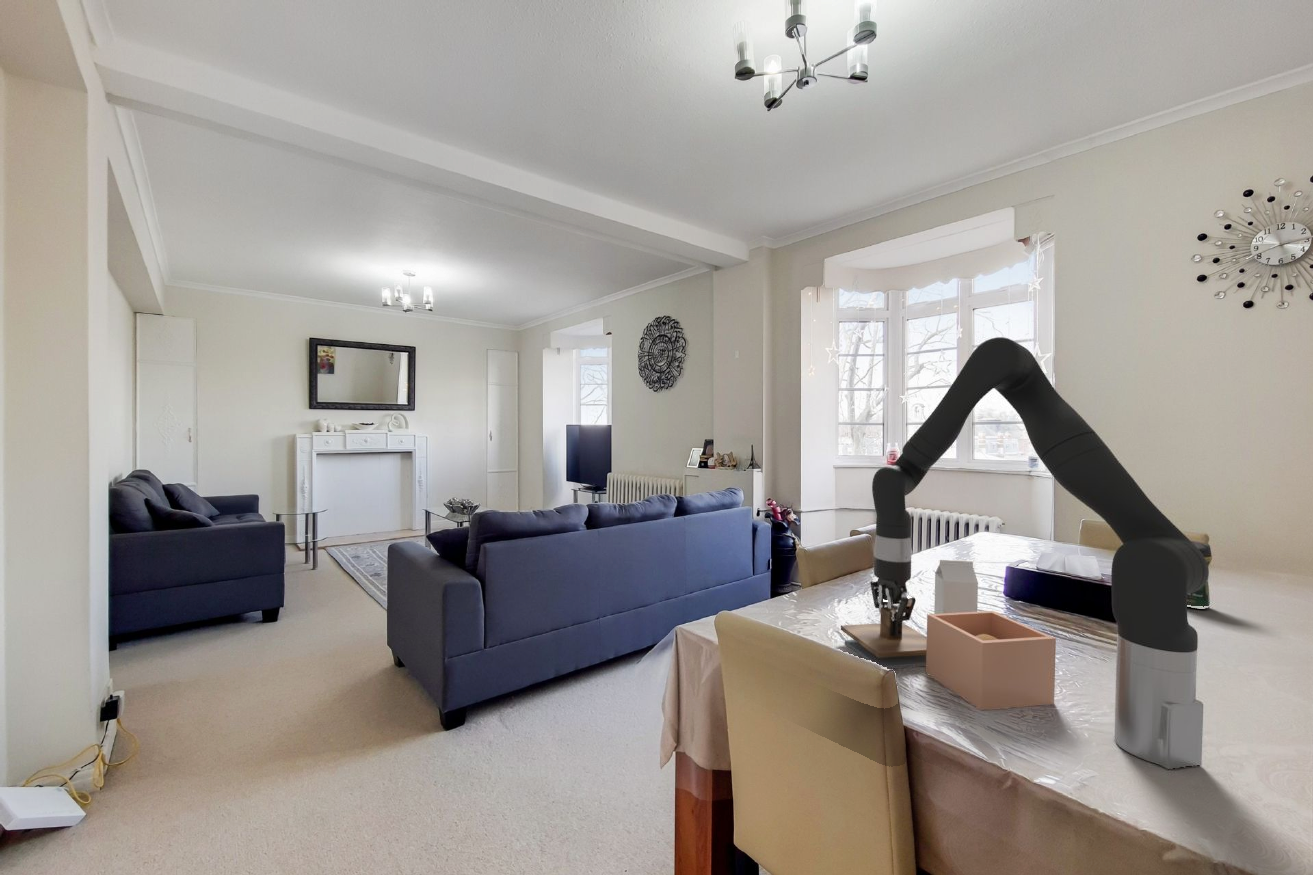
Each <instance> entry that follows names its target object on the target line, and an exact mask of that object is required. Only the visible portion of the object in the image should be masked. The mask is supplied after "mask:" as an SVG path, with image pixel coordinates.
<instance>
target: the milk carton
mask: <svg viewBox="0 0 1313 875" xmlns="http://www.w3.org/2000/svg"><path fill="white" fill-rule="evenodd" d="M934 572H935V573H934V574H935V575H934V613H933V614H943V613H962V612H978V602H979V600H978V599H979V598H978V596H979V595H978V594H979V592H978V591H979V582H978V578H977V575H976V572H975V568H974V561H973V560H971V561H970V560H949V559H939V564H938V566H937V568H936V571H934Z"/></svg>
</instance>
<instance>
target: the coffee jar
mask: <svg viewBox="0 0 1313 875" xmlns="http://www.w3.org/2000/svg"><path fill="white" fill-rule="evenodd" d="M1190 541H1191V542H1192V543H1193V544H1194V545H1195V546H1196V547H1197V548H1198V549H1199V550H1200V552H1201V553H1202V554H1203V556H1204V557H1205V559H1206V561H1207V565H1208V567H1209V566H1210V564H1211V562H1212V560H1213V556H1212V548H1211V546H1210V544H1209V543H1207V542H1206V543H1205V542H1200V541H1194V540H1190ZM1209 585H1210V584H1209V579H1208V580H1207V582H1206V584H1205V585H1204V586H1203V587H1202V588H1201V589H1199V590H1198V591H1196V592H1193V593H1190V594H1187V605H1191V606H1203V607H1204V606H1209V605H1210V603H1211V602H1210V601H1211V600H1210V599H1211V598H1210V588H1209ZM1209 607H1210V606H1209Z"/></svg>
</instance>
